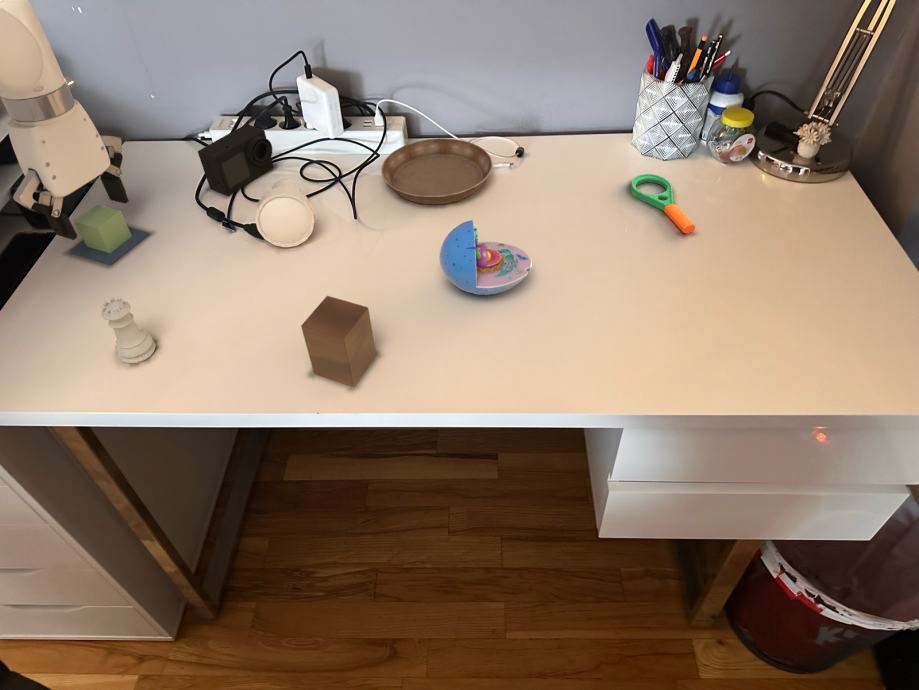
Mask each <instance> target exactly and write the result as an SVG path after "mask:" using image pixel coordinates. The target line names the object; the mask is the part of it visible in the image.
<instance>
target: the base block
mask: <svg viewBox="0 0 919 690" xmlns="http://www.w3.org/2000/svg"><path fill="white" fill-rule="evenodd" d="M371 321H372V320H371V315H370V310H369V307H368V306H364V305H361V304H358V303H354V302H351V301H347V300H344V299H342V298H341V299H340V298H337V297H333V296H330V295H326V296H325V297H324V298H323V300H322V301H321V302H320V303H319V304H318V305H317V306H316V308H315V309H314V310H313V311H312V312H311V314H309V316H308V317H307V318H306V319H305V320H304V321H303V322H302V324H301V325H300V327H301V332H302V334H303V338H304V342H305V346H306V349H307V353H308V358H309V360H310V364H311V369H312V372H313V374H314V376H315V375H316V376H318V377H321V378H324V379H328V380H330V381H333V382H337V383H339V384H342V385H345V386H348V387H352V388H355V387H356V385H357V384H358V383H359V382H360V380H361V378H362V377H363V376H364V374H365V372H367V370H368V368H370V366H371V364H372V363H373V362H374V360H375V359H376V357H377V351H376V345H375V339H374V333H373V327H372V322H371Z"/></svg>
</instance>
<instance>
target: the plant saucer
mask: <svg viewBox="0 0 919 690" xmlns="http://www.w3.org/2000/svg"><path fill="white" fill-rule="evenodd" d="M492 170H493V160H492V157H491V156H490V154H489V152H488V151H486V150H485V149H484V148H483V147H481V146H479V145H477V144H475V143H472V142H470V141H467V140H462V139H456V138H448V137H445V138H439V137H438V138H428V139H427V138H426V139H421V140H418V141H414V142H411V143H408V144H406V145H403V146H401V147H399V148H396V149H395V150H394V151H392V152H391V153H390V154H389V155H388V156H387V157H386V158H385V159H384V161H383V162H382V164H381V169H380V171H381V177H382V179H383V180H384V181H385V183H386V184H387V185H388V186H389V188H390V189H392V191H394V192H395V193H396V194H398V195H400V196H401V197H402V198H405V199H407V200H408V201H411V202H413V203H418V204H424V205H443V204H444V205H445V204H450V203H455V202H458V201H461V200H463V199H465V198H467V197H469V196H472V194H474V193H475V192H476V191H477V190H479V189H480V188H481V187H482V186H483V185H484V183H485V182H486V181H487V180H488V178H489V177H490V175H491V172H492Z"/></svg>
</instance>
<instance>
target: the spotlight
mask: <svg viewBox="0 0 919 690" xmlns="http://www.w3.org/2000/svg"><path fill="white" fill-rule="evenodd" d="M313 207H314V206H313V204H312V203H311V201H310V200H309V198H308V197H307V195H306V194H304V193H303V192H302V188H301V187H300V185H298V183H297V182H295V181H294V180H291V179H280V180H278V181H276V182H275V183H274V184H273V185H272V187H271V189H270V190H268V191H266V192H265V193H264V194H262V196H261V197H260V199H259V200H258V201H257V207H256V211H255V218H254V221H255V225H256V229H257V231H258V232H259V234H260V235H261V237H262V238H263V239H264V240H265V241H267V242H269V243H270V244H272V245H273V246H277V247H282V248H291V247H297V246H299V245H300V244H302V243H304V242H305V241H307V240H308V238H309V237H310V236H311V235H312V233H313V231H314V226H315V212H314V208H313Z"/></svg>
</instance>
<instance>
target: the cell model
mask: <svg viewBox="0 0 919 690" xmlns="http://www.w3.org/2000/svg"><path fill="white" fill-rule="evenodd" d="M523 248H524V247H522V246H519V247H518V246H517V245H513V244H510V243H505V242H499V241H479V232H478V227H475V225H474V220H473V219H470V220H467V221H463V222H462V223H460V224H458V225H457V226H456V227H454V228H452V229H451V230H450V232H448V234H447V235H446V236H445V238H444V239H443V241H442V244H441V246H440V249H439V264H440V267H441V270H442V272H443V274H444V275H445V277H446V278H447V279H448V280H449V282H450V283H451V284H452V285H454V286H455V287H456V288H458V289H460V290H462V291H463V292H467V293H468V294H469V293H470V294H474V295H479V296H481V295H482V296H489V295H496V294H499V293H503V292H506V291H508V290H510V289H512V288H514V287H515V286H517V285H518V284H520V283H521V282H522V281H523V280H524V279H526V277H527V276H528V274H529V272H530V270H531V268H532V264H533V261H532V258H531V256H530V255H529V253H527V252H526V251H525V250H524V249H523Z"/></svg>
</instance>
